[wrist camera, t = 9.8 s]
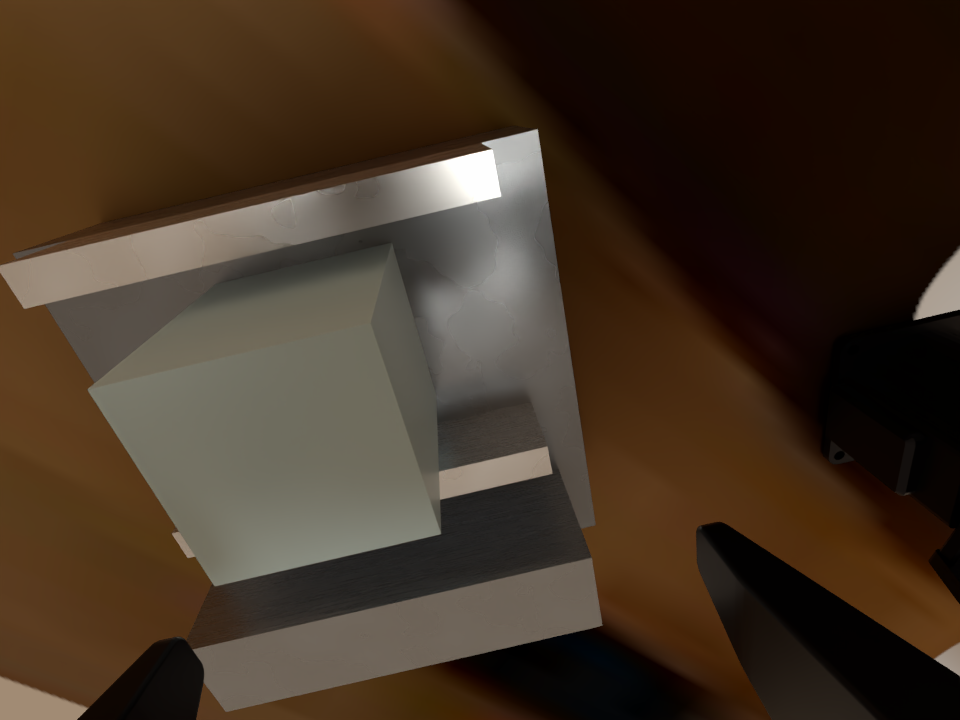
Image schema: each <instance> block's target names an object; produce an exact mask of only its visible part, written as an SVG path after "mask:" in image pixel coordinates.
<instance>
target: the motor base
mask: <svg viewBox="0 0 960 720" xmlns="http://www.w3.org/2000/svg"><path fill="white" fill-rule="evenodd" d="M388 243H392V245H393V249H394V252H395V256H396V259H397V262H398V266H399V269H400V273H401V276H402V280H403V283H404V286H405V290H406V293H407V297H408V300H409V304H410V307H411V310H412V314H413V317H414V321H415V324H416V328H417V331H418V334H419V338H420V341H421V345H422V348H423V352H424V355H425V358H426V362H427V365H428V369H429V372H430V376H431V379H432V382H433V386H434V389H435V393H436V403H437V430H438V458H439V486H440V513H441V534H439V535H435V536H431V537H427V538H422V539H418V540H414V541H409V542H405V543H401V544H396V545H392V546H388V547H383V548H379V549H375V550H370V551H366V552H362V553H357V554H353V555H349V556H344V557H340V558H336V559H331V560H327V561H323V562H319V563H314V564H310V565H306V566H301V567H297V568H293V569H288V570H284V571H280V572H275V573H271V574H267V575H262V576H258V577H254V578H249V579H245V580H241V581H236V582H232V583H228V584H223V585H219V586H214V585H213V583H212V585H211V587H210V590H209V592H208V594H207V596H206V599H205V601H204V603H203V605H202V607H201V610H200V612H199V614H198V616H197V618H196V621H195V623H194V625H193V627H192V629H191V632H190V634H189V636H188V638H187V640H186V641H187V643H188V644H189V645H190V647H191V648H192V650H193V651H194V652H195V654H196V655H197V657H198V658H199V660H200V661H201V662H202V664H203V667H204V683H205V684H206V686H207V687H208V688H209V690H210V691H211V692H212V694H213V695H214V696H215V698H216V699H217V700H218V702H219V703H220V704H221V706H222V707H223V708H224V710H225V711H226V712H228V711H232V710H236V709H241V708H245V707H249V706H254V705H258V704H262V703H267V702H271V701H276V700H280V699H284V698H289V697H293V696H297V695H302V694H306V693H311V692H315V691H319V690H324V689H328V688H332V687H337V686H341V685H345V684H350V683H354V682H359V681H363V680H367V679H372V678H376V677H380V676H385V675H389V674H394V673H398V672H402V671H407V670H411V669H415V668H420V667H424V666H428V665H433V664H437V663H442V662H446V661H450V660H455V659H459V658H463V657H468V656H472V655H477V654H481V653H485V652H490V651H494V650H498V649H503V648H507V647H511V646H516V645H520V644H525V643H529V642H533V641H538V640H542V639H546V638H551V637H555V636H560V635H564V634H568V633H573V632H577V631H581V630H586V629H590V628H594V627H599V626H602V621H601V614H600V608H599V602H598V595H597V589H596V582H595V576H594V570H593V563H592V557H591V555H590V552H589V549H588V547H587V544H586V541H585V539H584V536H583V533H582V531H581V528H585V527H589V526H594V525H595V518H594V511H593V504H592V498H591V491H590V484H589V477H588V470H587V463H586V457H585V450H584V443H583V436H582V429H581V422H580V416H579V409H578V402H577V395H576V388H575V381H574V375H573V368H572V361H571V354H570V347H569V340H568V334H567V327H566V320H565V313H564V306H563V299H562V293H561V286H560V279H559V272H558V265H557V258H556V252H555V245H554V238H553V231H552V224H551V218H550V211H549V204H548V197H547V190H546V183H545V177H544V170H543V163H542V156H541V149H540V142H539V136H538V129H531V128H525V127H519V126H510V127H506V128H502V129H498V130H493V131H489V132H485V133H481V134H477V135H472V136H468V137H464V138H460V139H455V140H451V141H447V142H443V143H439V144H434V145H430V146H426V147H422V148H417V149H413V150H409V151H405V152H400V153H396V154H392V155H388V156H384V157H379V158H375V159H371V160H367V161H362V162H358V163H354V164H350V165H346V166H341V167H337V168H333V169H329V170H324V171H320V172H316V173H312V174H307V175H303V176H299V177H295V178H291V179H286V180H282V181H278V182H274V183H269V184H265V185H261V186H257V187H253V188H248V189H244V190H240V191H236V192H231V193H227V194H223V195H219V196H215V197H210V198H206V199H202V200H198V201H193V202H189V203H185V204H181V205H176V206H172V207H168V208H164V209H160V210H155V211H151V212H147V213H143V214H138V215H134V216H130V217H126V218H122V219H117V220H113V221H109V222H105V223H100V224H97V225H95V226H92V227H89V228H86V229H83V230H80V231H77V232H74V233H71V234H68V235H65V236H63V237H60V238H57V239H54V240H51V241H48V242H45V243H42V244H39V245H36V246H33V247H31V248H28V249H25V250H22V251H19V252H16V253H13V255H14V256H15V258H16V260H13V261H10V262H7V263H5V264H2V265H0V273H1V274H2V276H3V277H4V279H5V280H6V282H7V283H8V285H9V286H10V288H11V289H12V291H13V292H14V294H15V295H16V297H17V299H18V300H19V302H20V303H21V305H22V306H23V308H24V309H26V308H30V307H34V306H38V305H43V304H45V305H46V307H47V308H48V310H49V311H50V313H51V315H52V316H53V318H54V319H55V321H56V323H57V324H58V326H59V327H60V329H61V330H62V332H63V334H64V335H65V337H66V338H67V340H68V341H69V343H70V345H71V346H72V348H73V349H74V351H75V352H76V354H77V356H78V357H79V359H80V360H81V362H82V364H83V365H84V367H85V368H86V370H87V371H88V373H89V375H90V376H91V378H92V379H93V381H94V382H95V383H96V382H97V381H98V380H99V379H101V378H102V377H103V376H104V375H106V374H107V373H108V372H109V371H110V370H112V369H113V368H114V367H115V366H117V365H118V364H119V363H120V362H121V361H123V360H124V359H125V358H126V357H127V356H129V355H130V354H131V353H132V352H134V351H135V350H136V349H137V348H138V347H140V346H141V345H142V344H143V343H145V342H146V341H147V340H148V339H149V338H151V337H152V336H153V335H154V334H156V333H157V332H158V331H159V330H160V329H162V328H163V327H164V326H165V325H166V324H168V323H169V322H170V321H171V320H173V319H174V318H175V317H176V316H177V315H179V314H180V313H181V312H182V311H184V310H185V309H186V308H187V307H188V306H190V305H191V304H192V303H193V302H195V301H196V300H197V299H198V298H199V297H201V296H202V295H203V294H204V293H205V292H207V291H208V290H209V289H210V288H212V287H213V286H214V285H215V284H218V283H223V282H227V281H231V280H235V279H239V278H244V277H248V276H252V275H256V274H261V273H265V272H269V271H273V270H278V269H282V268H286V267H290V266H295V265H299V264H303V263H307V262H311V261H316V260H320V259H324V258H328V257H333V256H337V255H341V254H345V253H350V252H354V251H358V250H362V249H366V248H371V247H375V246H379V245H383V244H388ZM172 535H173V536H174V538H175V539H176V541H177V542H178V544H179V545H180V547H181V548H182V550H183V551H184V553H185V555H186V556H187V558H190V557H195V555H194V554H193V552H192V551H191V549H190V548H189V546H188V544H187V543H186V541H185V540H184V538H183V537H182V535H181V534H180V532H179V531H178V529H177V528H176V527H175V529H174V531H173V532H172Z"/></svg>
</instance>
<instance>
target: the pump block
mask: <svg viewBox="0 0 960 720" xmlns="http://www.w3.org/2000/svg"><path fill="white" fill-rule="evenodd" d="M87 390H88V392H89V393H90V395H91V396H92V398H93V399H94V401H95V402H96V404H97V405H98V407H99V409H100V410H101V412H102V413H103V415H104V416H105V418H106V419H107V421H108V422H109V424H110V426H111V427H112V429H113V430H114V432H115V433H116V435H117V436H118V438H119V439H120V441H121V443H122V444H123V446H124V447H125V449H126V450H127V452H128V453H129V455H130V456H131V458H132V460H133V461H134V463H135V464H136V466H137V467H138V469H139V470H140V472H141V473H142V475H143V477H144V478H145V480H146V481H147V483H148V484H149V486H150V487H151V489H152V490H153V492H154V494H155V495H156V497H157V498H158V500H159V501H160V503H161V504H162V506H163V507H164V509H165V511H166V512H167V514H168V515H169V517H170V518H171V520H172V521H173V523H174V524H175V526H176V528H177V529H178V531H179V532H180V534H181V535H182V537H183V538H184V540H185V541H186V543H187V544H188V546H189V548H190V549H191V551H192V552H193V554H194V555H195V557H196V558H197V560H198V561H199V563H200V565H201V566H202V568H203V569H204V571H205V572H206V574H207V575H208V577H209V578H210V580H211V582H212V583H213V585H214V586H219V585H223V584H228V583H232V582H236V581H241V580H245V579H249V578H254V577H258V576H262V575H267V574H271V573H275V572H280V571H284V570H288V569H293V568H297V567H301V566H306V565H310V564H314V563H319V562H323V561H327V560H331V559H336V558H340V557H344V556H349V555H353V554H357V553H362V552H366V551H370V550H375V549H379V548H383V547H388V546H392V545H396V544H401V543H405V542H409V541H414V540H418V539H422V538H427V537H431V536H435V535H439V534H441V513H440V486H439V458H438V430H437V403H436V393H435V389H434V386H433V382H432V379H431V376H430V372H429V369H428V365H427V362H426V358H425V355H424V352H423V348H422V345H421V341H420V338H419V334H418V331H417V328H416V324H415V321H414V317H413V314H412V310H411V307H410V304H409V300H408V297H407V293H406V290H405V286H404V283H403V280H402V276H401V273H400V269H399V266H398V262H397V259H396V256H395V252H394V249H393V245H392V243H388V244H383V245H379V246H375V247H371V248H366V249H362V250H358V251H354V252H350V253H345V254H341V255H337V256H333V257H328V258H324V259H320V260H316V261H311V262H307V263H303V264H299V265H295V266H290V267H286V268H282V269H278V270H273V271H269V272H265V273H261V274H256V275H252V276H248V277H244V278H239V279H235V280H231V281H227V282H223V283H218V284H215V285H214V286H213V287H212V288H210V289H209V290H208V291H207V292H205V293H204V294H203V295H202V296H201V297H199V298H198V299H197V300H196V301H195V302H193V303H192V304H191V305H190V306H188V307H187V308H186V309H185V310H184V311H182V312H181V313H180V314H179V315H177V316H176V317H175V318H174V319H173V320H171V321H170V322H169V323H168V324H166V325H165V326H164V327H163V328H162V329H160V330H159V331H158V332H157V333H156V334H154V335H153V336H152V337H151V338H149V339H148V340H147V341H146V342H145V343H143V344H142V345H141V346H140V347H138V348H137V349H136V350H135V351H134V352H132V353H131V354H130V355H129V356H127V357H126V358H125V359H124V360H123V361H121V362H120V363H119V364H118V365H117V366H115V367H114V368H113V369H112V370H110V371H109V372H108V373H107V374H106V375H104V376H103V377H102V378H101V379H99V380H98V381H97V382H96V383H95V384H93V385H92V386H91V387H90V388H88V389H87Z"/></svg>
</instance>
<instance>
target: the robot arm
mask: <svg viewBox="0 0 960 720" xmlns="http://www.w3.org/2000/svg"><path fill="white" fill-rule="evenodd" d="M851 346H852V347H851ZM850 347H851V349H850V350H849V351H848V349H849V348H850ZM823 456H824V457H825V458H826V459H827V460H828V461H829V462H830V463H832V464H841V463H845V462H849V461H854V460H856V461H857V462H858V463H859V464H861V465H862V466H863V467H864V468H865V469H867V470H868V471H869V472H870V473H872V474H873V475H874V476H875V477H877V478H878V479H879V480H880V481H881V482H883V483H884V484H885V485H886V486H888V487H889V488H890V489H891V490H893V491H894V492H896V493H897V494H899V495H901V496H903V495H908V494H909V495H910V496H911V497H912V498H914V499H915V500H916V501H917V502H919V503H920V504H921V505H923V506H924V507H925V508H926V509H928V510H929V511H930V512H931V513H933V514H934V515H935V516H936V517H938V518H939V519H940V520H941V521H943V522H944V523H945V524H946V525H948V526H949V527H950V528H956V529H955V530H954V531H953V533H952V534H951V536H950V537H949V538H948V540H947V541H946V542H945V544H944V545H943V547H942V548H941V549H937V550H936V551H935V552H934V554H933V555H932V556H931V558H930V559H929V563H930V565H931V566H932V567H933V569H934V570H935V571H936V573H937V574H938V575H939V577H940V578H941V579H942V581H943V582H944V584H945V585H946V586H947V588H948V589H949V590H950V592H951V593H952V594H953V596H954V597H955V598H956V600H957V601H958V603H959V604H960V310H957V311H952V312H948V313H944V314H939V315H935V316H931V317H926V318H922V319H918V320H913V321H909V322H905V323H901V324H896V325H892V326H888V327H883V328H879V329H875V330H870V331H866V332H862V333H858V334H853V335H849V336H846V337H843V338H842V339H841V340H839V341H838V343H837V344H836V346H835V350H834V359H833V368H832V377H831V385H830V394H829V403H828V412H827V421H826V429H825V438H824V447H823ZM696 543H697V564H698V568H699V571H700V574H701V576H702V578H703V581H704V583H705V585H706V587H707V590H708V592H709V594H710V596H711V598H712V601H713V603H714V605H715V607H716V610H717V612H718V614H719V616H720V619H721V621H722V623H723V625H724V628H725V630H726V632H727V634H728V637H729V639H730V641H731V643H732V646H733V648H734V650H735V652H736V654H737V657H738V659H739V661H740V663H741V665H742V667H743V669H744V671H745V673H746V674H747V676H748V678H749V680H750V682H751V684H752V685H753V687H754V689H755V691H756V692H757V694H758V696H759V698H760V699H761V701H762V703H763V705H764V706H765V708H766V710H767V712H768V713H769V715H770V717H771V719H772V720H960V676H959V675H957V674H956V673H954V672H953V671H951V670H950V669H948V668H947V667H945V666H943V665H942V664H940V663H939V662H937V661H936V660H934V659H933V658H931V657H930V656H928V655H927V654H925V653H924V652H922V651H920V650H919V649H917V648H916V647H914V646H913V645H911V644H910V643H908V642H907V641H905V640H904V639H902V638H900V637H899V636H897V635H896V634H894V633H893V632H891V631H890V630H888V629H887V628H885V627H884V626H882V625H880V624H879V623H877V622H876V621H874V620H873V619H871V618H870V617H868V616H867V615H865V614H864V613H862V612H860V611H859V610H857V609H856V608H854V607H853V606H851V605H850V604H848V603H847V602H845V601H844V600H842V599H840V598H839V597H837V596H836V595H834V594H833V593H831V592H830V591H828V590H827V589H825V588H824V587H822V586H820V585H819V584H817V583H816V582H814V581H813V580H811V579H810V578H808V577H807V576H805V575H804V574H802V573H800V572H799V571H797V570H796V569H794V568H793V567H791V566H790V565H788V564H787V563H785V562H784V561H782V560H780V559H779V558H777V557H776V556H774V555H773V554H771V553H770V552H768V551H767V550H765V549H764V548H762V547H760V546H759V545H757V544H756V543H754V542H753V541H751V540H750V539H748V538H747V537H745V536H744V535H742V534H740V533H739V532H737V531H736V530H734V529H733V528H731V527H730V526H728V525H727V524H725V523H722V522H714V523H710V524H705V525H701V526H699V527H698V528H697V531H696ZM203 683H204V667H203V664H202V662H201V661H200V660H199V658H198V657H197V655H196V654H195V652H194V651H193V650H192V648H191V647H190V645H189V644H188V643H187V641H186V640H185V639H184V638H182V637H173V638H168V639H164V640H160V641H157V642H155V643H154V644H152V645H151V646H150V647H149V648H148V649H147V650H146V651H145V652H144V653H143V654H142V655H141V656H140V657H139V658H138V659H137V660H136V661H135V662H134V663H133V664H132V665H131V666H130V667H129V668H128V669H127V670H126V671H125V672H124V673H123V674H122V675H121V676H120V677H119V678H118V679H117V680H116V681H115V682H114V683H113V684H112V685H111V686H110V687H109V688H108V689H107V690H106V691H105V692H104V693H103V694H102V695H101V696H100V697H99V698H98V699H97V700H96V701H95V702H94V703H93V704H92V705H91V706H90V707H89V708H88V709H87V710H86V711H85V712H84V713H83V714H82V715H81V716H80V717H79V718H78V719H77V720H196V717H197V712H198V707H199V702H200V697H201V692H202V687H203Z"/></svg>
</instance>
